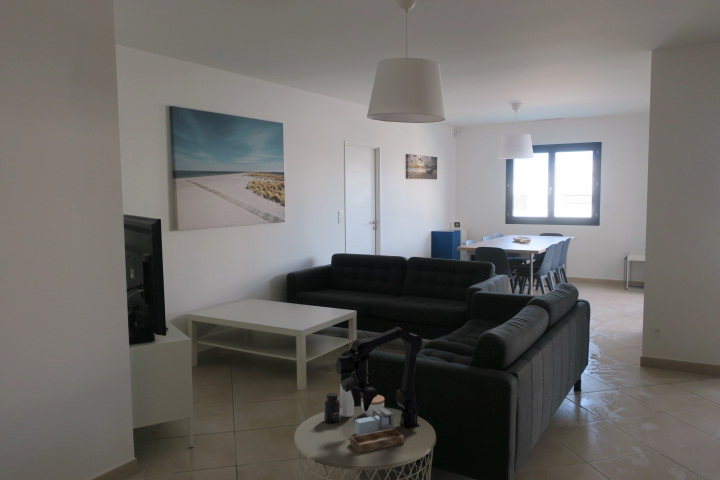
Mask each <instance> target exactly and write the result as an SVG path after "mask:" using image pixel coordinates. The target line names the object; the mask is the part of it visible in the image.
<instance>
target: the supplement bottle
mask: <svg viewBox="0 0 720 480" xmlns="http://www.w3.org/2000/svg"><path fill="white" fill-rule="evenodd" d="M338 398H339V397H338V393H335V392H328V393H327V394H326V400H325V401H324V404H323V405H324V406H323V407H324V408H323V409H324V412H323V420H324V422H325V423H327V424H338V423H339V422H340V414H341V410H340V409H341V401H340V399H338Z"/></svg>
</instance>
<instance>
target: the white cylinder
mask: <svg viewBox="0 0 720 480" xmlns="http://www.w3.org/2000/svg"><path fill="white" fill-rule="evenodd" d="M339 388H340V389H339V391H340V392H339V394H340V396H339V397H340V409H341V416H342V417H345V418H350V417H353V416H354V411H355V410H354V409H355V408H354V407H355V404H354V400H353V397H352V393H351V391H348V392H346V391H345V390H343V389H342V386H341V383H340V386H339Z"/></svg>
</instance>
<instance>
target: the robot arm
mask: <svg viewBox="0 0 720 480" xmlns="http://www.w3.org/2000/svg"><path fill="white" fill-rule="evenodd" d="M396 340H401V341H403V343H402V344H403V349H404V353H405V356H404V357H405V358H404V364H403V373H402V382H401V383H402V384H401V387H400V389H396V390H395V391H396V392H395V393H396V395H395V400H396V403H397V405H398V406H399V409H402V410H401V413H400V421H399V424H400V425H402V426H404V427H405V428H406V429H410V428H413V427H419V426H420V423H418V416H419V415H418V414H419V413H420V412H421V407H420V406H419V405H418V404H417V403H416V394H415V391H414V385H415V384H414V382H415V375H416V366H417V365H416V364H417V358H418V355H419V354H420V352H421V349H422V347H423V339H422V338H421V336H419V335H417V334H414V333H412V332H408V331H406V330H404V329H403V328H401V327H398V326H396V327H393V328H391V329H389V330H387V331H384V332H382V333H379V334H376V335H373V336H372V337H363V338H357V339H355V340H354V341H353V342H352V344H351V347H350V349H349V350H348V351H347V353H346V355H345V356H338V357H337V360H336V362H335V364H334V365H335V371H336V373H337V374H338V375H341V374H342V375H343V374H349V373H351V374H350V375H351V376H349V377H347V378H345V379H343V380H341V381H340V383H341V386H342V389H343V390H345V391H346V392H348V391H351V393H352V397H353V400H354V405H357V404H358V402H359V399H361V398H362V399H363V405H364V411H367V410H368V408H369V406H370V404H371V402H372V400H373V399H374V398H375V397H376V396H377V395H378V390H377V389H376V388H374V387H372V386H370V382H368V380H369V379H368V378H369V377H370V373H369V372H368V364H369V363H368V361H369V360H373V357H372V356H371V355H370V354H371V353H372V352H373V351H374V350H375V349H376V348H378V347H382V346H383V345H386V344H388V343H390V342H393V341H396Z"/></svg>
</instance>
